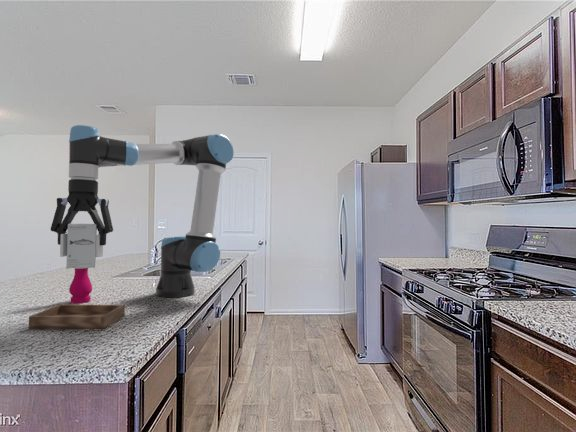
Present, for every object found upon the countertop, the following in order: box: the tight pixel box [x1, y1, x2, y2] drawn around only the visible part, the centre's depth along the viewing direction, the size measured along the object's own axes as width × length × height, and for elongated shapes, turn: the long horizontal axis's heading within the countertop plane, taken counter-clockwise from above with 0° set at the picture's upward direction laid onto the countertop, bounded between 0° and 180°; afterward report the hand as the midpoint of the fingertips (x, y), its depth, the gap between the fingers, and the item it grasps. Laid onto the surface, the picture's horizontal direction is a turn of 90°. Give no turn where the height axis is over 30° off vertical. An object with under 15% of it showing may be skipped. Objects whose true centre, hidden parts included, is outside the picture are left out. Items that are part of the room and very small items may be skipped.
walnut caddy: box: [28, 303, 126, 331], centre depth 105 cm, size 20×14×4 cm
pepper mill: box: [68, 268, 93, 304], centre depth 131 cm, size 7×7×20 cm
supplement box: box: [65, 223, 98, 269], centre depth 106 cm, size 7×7×13 cm
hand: (81, 256), depth 106 cm, fingers closed on supplement box, 9 cm apart
